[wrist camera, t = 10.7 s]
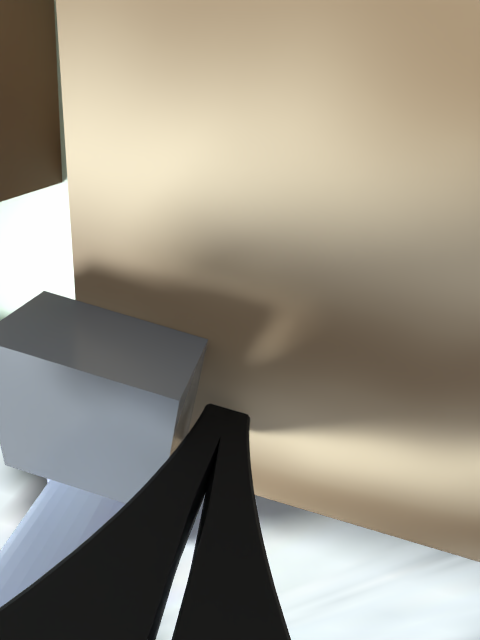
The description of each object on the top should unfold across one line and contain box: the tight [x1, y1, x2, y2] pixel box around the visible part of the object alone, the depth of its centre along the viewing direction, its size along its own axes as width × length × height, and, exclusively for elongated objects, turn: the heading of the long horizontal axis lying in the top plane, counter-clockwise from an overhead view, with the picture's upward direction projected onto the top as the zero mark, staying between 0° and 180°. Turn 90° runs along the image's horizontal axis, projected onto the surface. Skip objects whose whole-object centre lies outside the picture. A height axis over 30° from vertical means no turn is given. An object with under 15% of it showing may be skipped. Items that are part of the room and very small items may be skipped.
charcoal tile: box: [0, 291, 208, 504], centre depth 11 cm, size 5×5×2 cm
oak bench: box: [56, 0, 480, 562], centre depth 11 cm, size 15×18×4 cm
